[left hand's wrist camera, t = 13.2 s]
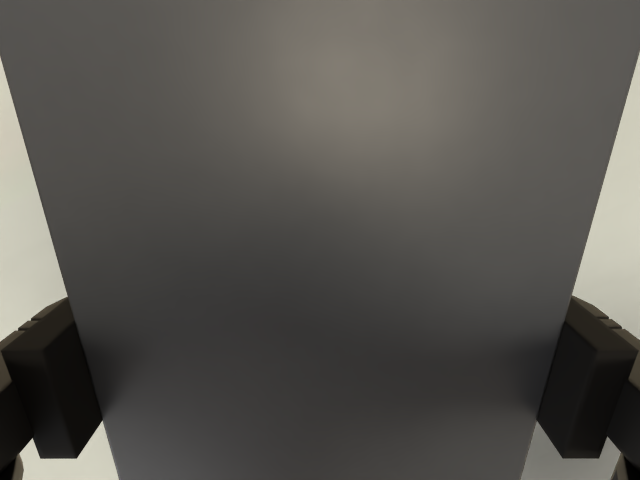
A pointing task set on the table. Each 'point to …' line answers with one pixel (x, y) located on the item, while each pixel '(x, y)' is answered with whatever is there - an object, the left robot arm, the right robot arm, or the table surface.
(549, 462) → the table surface
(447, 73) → the thick board
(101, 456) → the table surface
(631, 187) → the table surface
